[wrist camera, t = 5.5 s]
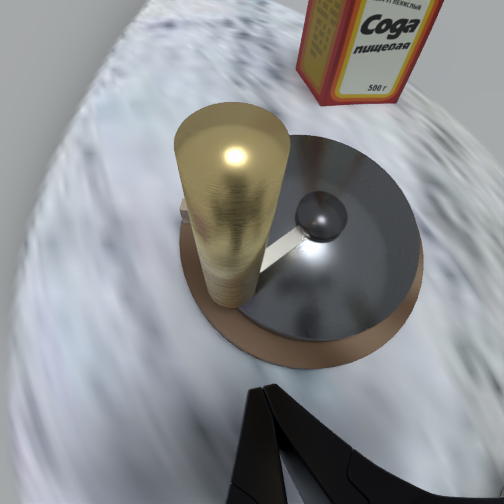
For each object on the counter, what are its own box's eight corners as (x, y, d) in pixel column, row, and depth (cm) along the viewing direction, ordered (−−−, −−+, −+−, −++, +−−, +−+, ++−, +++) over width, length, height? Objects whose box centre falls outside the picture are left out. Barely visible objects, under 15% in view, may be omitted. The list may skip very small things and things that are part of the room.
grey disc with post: (314, 125, 24) (352, -12, 12) (439, 252, 20) (556, 150, 9) (151, 219, 20) (87, 54, 8) (290, 401, 16) (410, 437, 4)
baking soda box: (321, 106, 27) (362, -46, 12) (295, 69, 29) (320, -63, 15) (396, 103, 29) (450, -16, 14) (367, 68, 31) (405, -42, 16)
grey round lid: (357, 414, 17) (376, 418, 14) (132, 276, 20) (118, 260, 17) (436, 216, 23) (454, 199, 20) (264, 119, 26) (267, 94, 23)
